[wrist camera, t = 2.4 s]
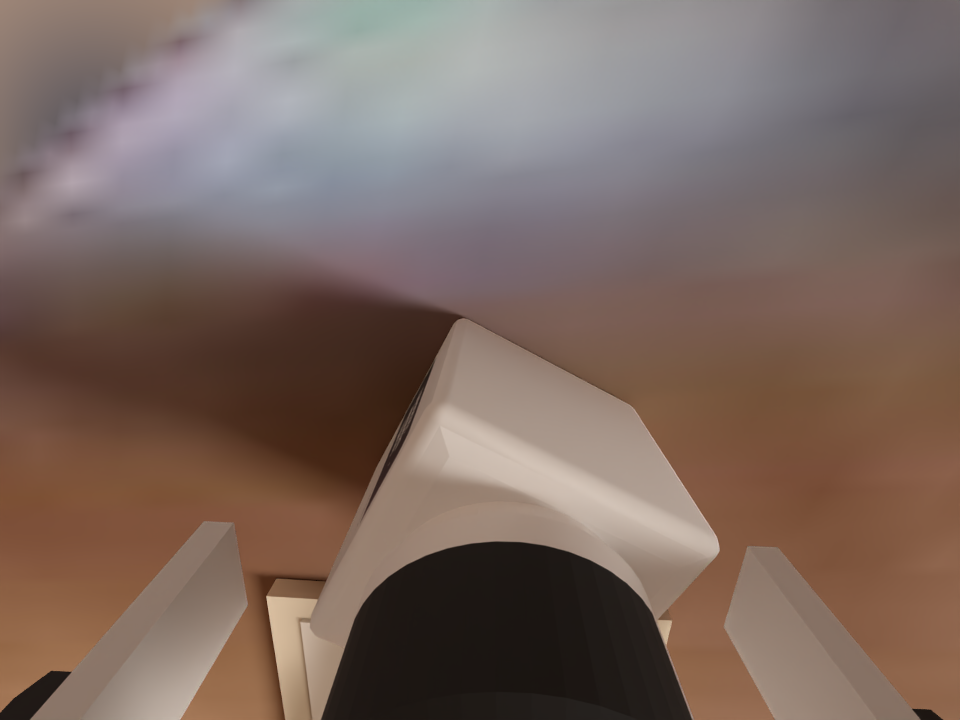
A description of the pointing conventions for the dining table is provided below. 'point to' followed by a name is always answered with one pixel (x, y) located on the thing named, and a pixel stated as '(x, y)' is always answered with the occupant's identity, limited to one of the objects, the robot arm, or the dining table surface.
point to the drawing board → (315, 648)
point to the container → (512, 553)
